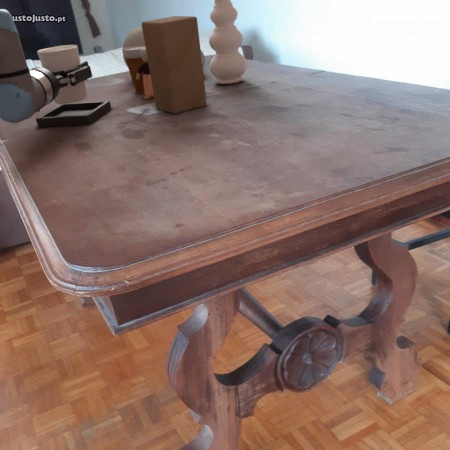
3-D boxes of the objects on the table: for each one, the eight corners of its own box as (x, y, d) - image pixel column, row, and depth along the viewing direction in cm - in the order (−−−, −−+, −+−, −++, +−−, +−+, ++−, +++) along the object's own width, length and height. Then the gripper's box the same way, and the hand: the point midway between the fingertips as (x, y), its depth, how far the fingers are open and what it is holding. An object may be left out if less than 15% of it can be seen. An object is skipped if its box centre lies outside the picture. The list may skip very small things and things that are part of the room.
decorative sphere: (125, 77, 166) (116, 28, 158) (167, 70, 169) (160, 22, 160) (130, 84, 154) (119, 32, 146) (175, 77, 157) (167, 25, 148)
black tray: (38, 127, 122) (35, 118, 120) (63, 111, 133) (61, 103, 132) (89, 124, 119) (87, 115, 117) (111, 108, 130) (109, 100, 129)
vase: (236, 87, 136) (227, -17, 122) (204, 86, 141) (193, -14, 127) (254, 78, 143) (248, -21, 129) (223, 78, 149) (214, -18, 134)
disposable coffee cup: (128, 96, 140) (119, 51, 133) (132, 89, 148) (124, 46, 141) (160, 93, 140) (153, 47, 133) (162, 86, 148) (155, 43, 141)
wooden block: (175, 114, 118) (160, 22, 106) (155, 108, 125) (140, 21, 113) (207, 105, 122) (197, 16, 111) (187, 100, 129) (175, 15, 118)
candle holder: (96, 97, 122) (83, 45, 115) (60, 106, 118) (44, 53, 111) (81, 93, 129) (68, 44, 122) (47, 101, 124) (31, 50, 117)
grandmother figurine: (142, 100, 134) (132, 51, 127) (139, 98, 137) (129, 49, 130) (168, 95, 136) (160, 46, 129) (164, 93, 139) (156, 45, 132)
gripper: (-3, 110, 108) (34, 88, 126) (88, 101, 106) (113, 80, 124) (-16, 75, 104) (24, 57, 122) (79, 64, 101) (106, 48, 120)
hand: (69, 69), depth 123 cm, fingers closed on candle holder, 9 cm apart
